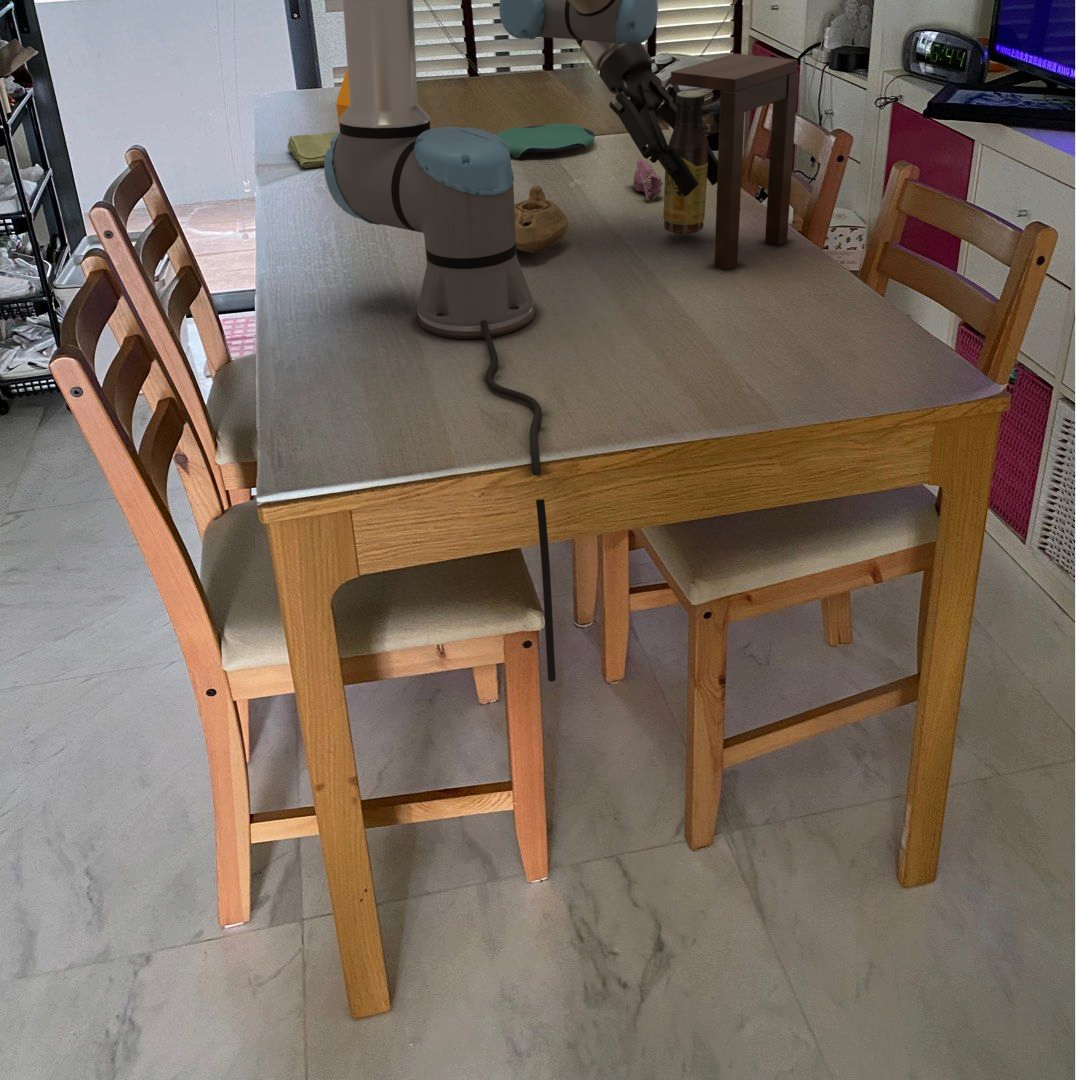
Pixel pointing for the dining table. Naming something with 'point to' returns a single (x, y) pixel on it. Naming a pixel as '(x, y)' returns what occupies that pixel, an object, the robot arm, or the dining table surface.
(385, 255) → the dining table surface
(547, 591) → the robot arm
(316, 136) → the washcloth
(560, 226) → the oil lamp
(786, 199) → the wooden step stool
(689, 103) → the sauce bottle
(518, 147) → the green pad
